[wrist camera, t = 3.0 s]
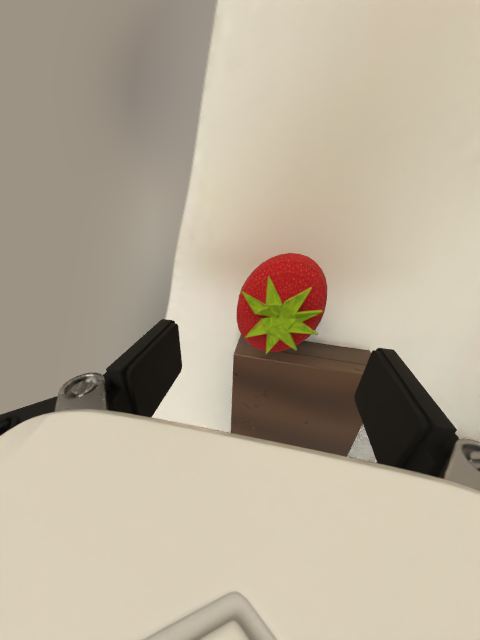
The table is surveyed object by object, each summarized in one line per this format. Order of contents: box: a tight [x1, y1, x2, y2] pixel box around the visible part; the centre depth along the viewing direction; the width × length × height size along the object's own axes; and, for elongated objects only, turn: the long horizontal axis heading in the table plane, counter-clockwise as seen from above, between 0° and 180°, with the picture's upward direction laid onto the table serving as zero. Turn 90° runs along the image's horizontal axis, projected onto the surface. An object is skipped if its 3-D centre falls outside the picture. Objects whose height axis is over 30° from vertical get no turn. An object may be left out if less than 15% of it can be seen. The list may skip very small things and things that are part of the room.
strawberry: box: [237, 253, 327, 354], centre depth 16 cm, size 6×8×10 cm
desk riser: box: [231, 334, 371, 457], centre depth 25 cm, size 20×13×4 cm, turn 178°
